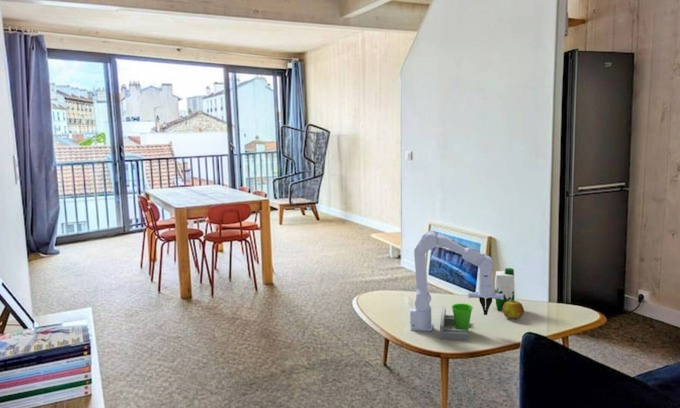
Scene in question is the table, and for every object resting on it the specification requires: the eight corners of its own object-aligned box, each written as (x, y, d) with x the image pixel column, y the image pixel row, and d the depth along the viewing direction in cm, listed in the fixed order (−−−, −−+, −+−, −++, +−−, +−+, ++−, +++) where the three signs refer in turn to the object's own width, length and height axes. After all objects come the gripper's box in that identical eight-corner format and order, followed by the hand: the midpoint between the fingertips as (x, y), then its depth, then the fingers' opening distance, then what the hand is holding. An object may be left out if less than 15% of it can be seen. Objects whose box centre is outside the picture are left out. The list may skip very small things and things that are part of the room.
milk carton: (514, 312, 237) (515, 271, 234) (495, 311, 240) (495, 271, 237) (513, 306, 246) (513, 267, 243) (494, 305, 248) (494, 266, 245)
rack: (440, 339, 210) (440, 323, 209) (442, 320, 230) (442, 306, 229) (468, 340, 207) (467, 324, 206) (467, 322, 227) (467, 307, 226)
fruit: (515, 313, 236) (515, 297, 235) (528, 319, 227) (528, 302, 226) (498, 316, 233) (498, 299, 232) (510, 322, 225) (510, 305, 224)
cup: (474, 334, 213) (474, 310, 212) (453, 335, 214) (453, 310, 212) (470, 326, 222) (470, 303, 220) (450, 327, 223) (449, 303, 221)
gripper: (468, 286, 210) (468, 316, 212) (504, 287, 207) (503, 318, 209) (468, 281, 217) (468, 310, 219) (502, 282, 213) (502, 312, 215)
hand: (485, 314), depth 214 cm, fingers closed
